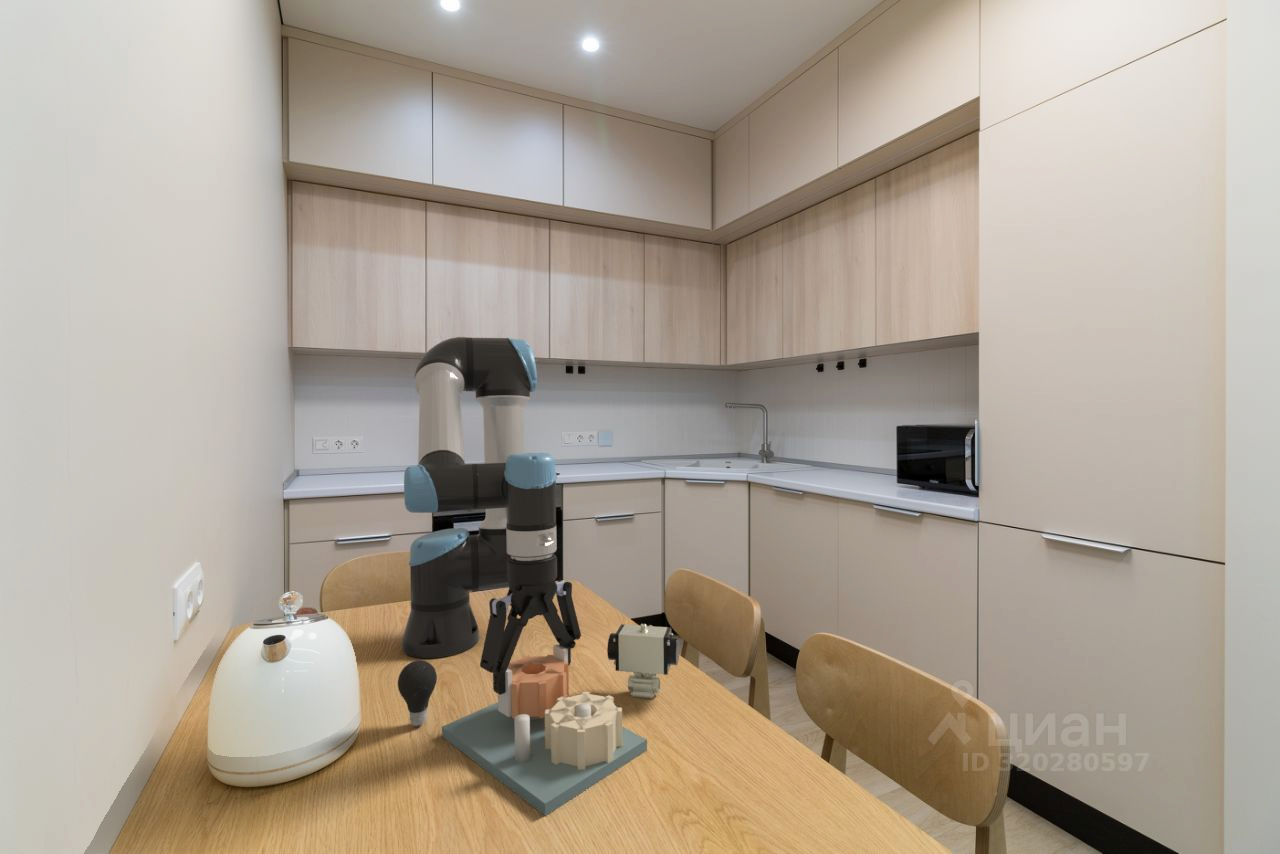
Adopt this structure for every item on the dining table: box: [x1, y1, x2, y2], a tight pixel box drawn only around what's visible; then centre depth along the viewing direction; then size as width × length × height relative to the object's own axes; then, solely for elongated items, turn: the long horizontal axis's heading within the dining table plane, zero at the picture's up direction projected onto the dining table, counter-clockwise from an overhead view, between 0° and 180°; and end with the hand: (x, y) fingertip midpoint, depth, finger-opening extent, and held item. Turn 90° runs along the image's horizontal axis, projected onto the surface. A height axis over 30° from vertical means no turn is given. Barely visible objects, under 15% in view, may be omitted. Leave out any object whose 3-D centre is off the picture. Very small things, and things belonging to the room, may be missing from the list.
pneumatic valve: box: [606, 623, 680, 699], centre depth 98 cm, size 6×12×12 cm, turn 78°
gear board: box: [441, 691, 648, 816], centre depth 83 cm, size 25×18×7 cm
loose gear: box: [508, 654, 570, 718], centre depth 88 cm, size 10×10×5 cm
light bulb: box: [397, 659, 438, 728], centre depth 88 cm, size 6×6×10 cm
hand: (534, 699), depth 88 cm, fingers closed on loose gear, 10 cm apart
